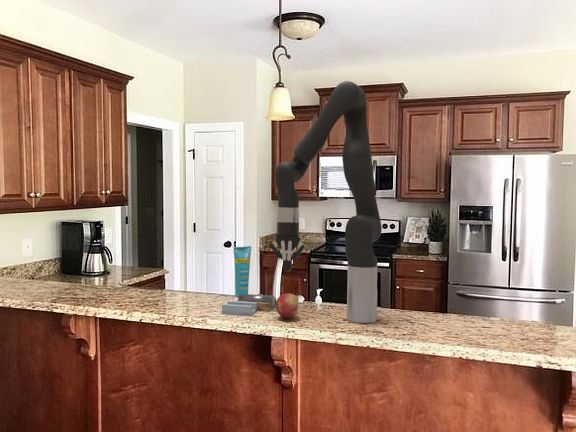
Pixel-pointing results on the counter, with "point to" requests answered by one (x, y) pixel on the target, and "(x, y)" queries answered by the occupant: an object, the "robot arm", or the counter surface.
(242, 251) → the tube
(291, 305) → the fruit
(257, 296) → the grey cylinder
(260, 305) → the brown flat wooden block
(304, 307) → the counter surface
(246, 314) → the v block
